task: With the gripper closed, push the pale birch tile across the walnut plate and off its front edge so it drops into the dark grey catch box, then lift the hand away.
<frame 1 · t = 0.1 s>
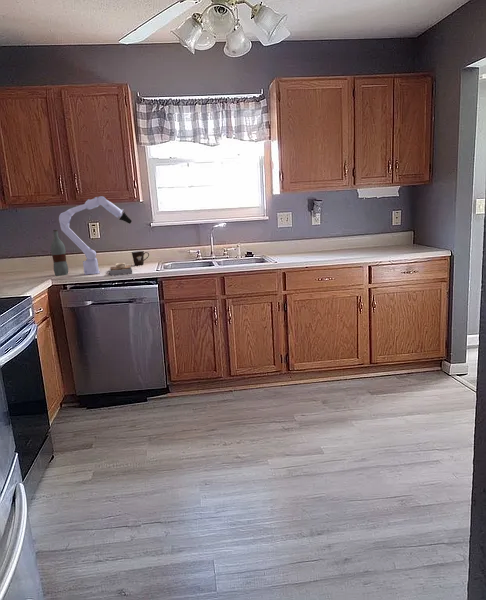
hand: (130, 222, 309), 32 cm above the counter, tool tilted 50°, fingers open, 7 cm apart
catch box: (121, 273, 303), on the counter
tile: (120, 267, 313), point 2 cm above the counter, touching plate
plate: (121, 270, 315), on the counter
bottle: (61, 274, 312), on the counter
coffee mug: (141, 265, 338), on the counter
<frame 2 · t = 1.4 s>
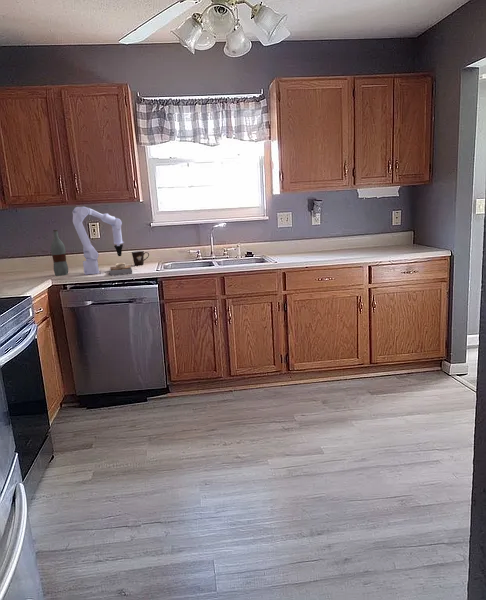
hand: (119, 255, 321), 9 cm above the counter, tool pointing down, fingers open, 6 cm apart
nothing on the counter moved.
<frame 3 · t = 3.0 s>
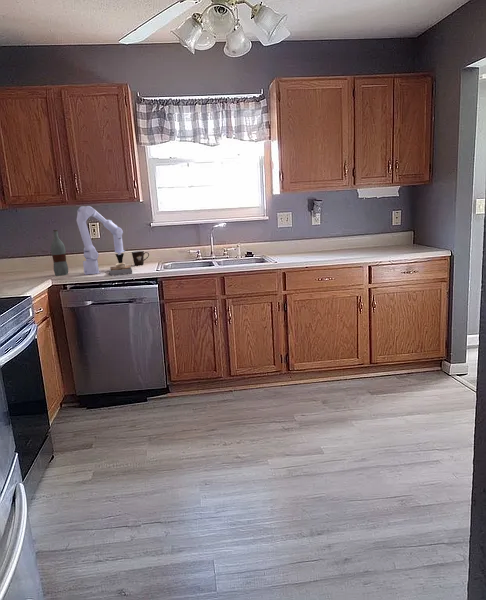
hand: (120, 264, 322), 3 cm above the counter, tool pointing down, fingers closed
nothing on the counter moved.
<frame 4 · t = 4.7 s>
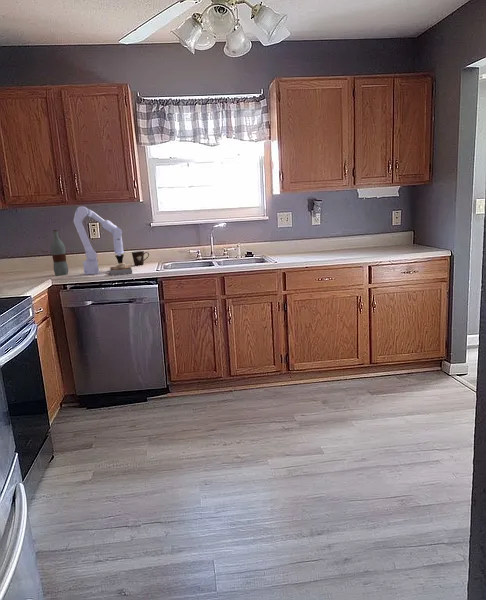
hand: (120, 265, 316), 3 cm above the counter, tool pointing down, fingers closed
nothing on the counter moved.
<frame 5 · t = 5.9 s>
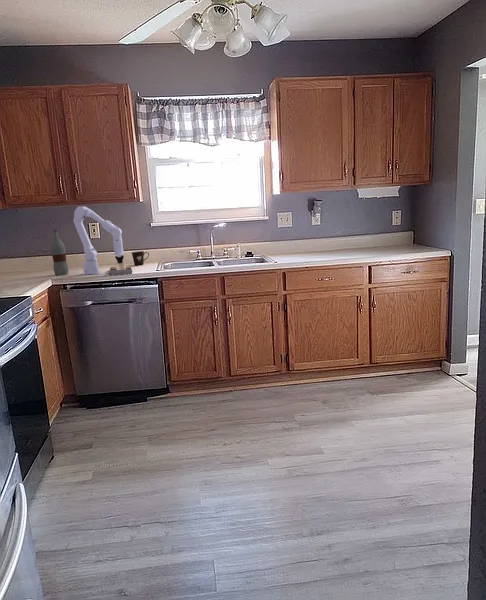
hand: (120, 266, 310), 3 cm above the counter, tool pointing down, fingers closed
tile: (121, 269, 307), point 2 cm above the counter, tilted 40°, touching gripper
everything else where it was.
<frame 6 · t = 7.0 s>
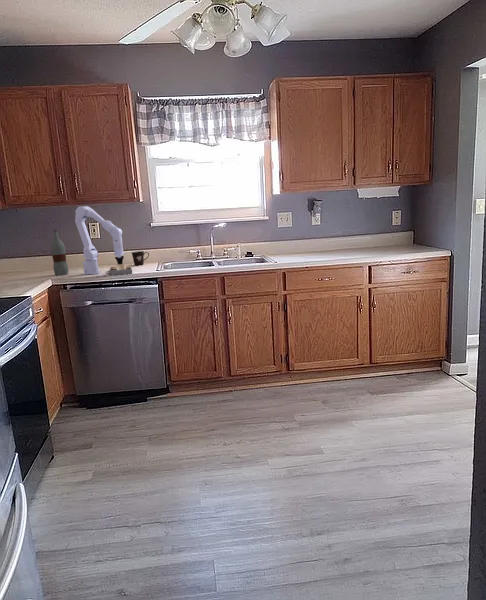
hand: (120, 267, 306), 3 cm above the counter, tool pointing down, fingers closed
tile: (121, 270, 304), point 2 cm above the counter, tilted 36°, touching catch box, gripper
everything else where it was.
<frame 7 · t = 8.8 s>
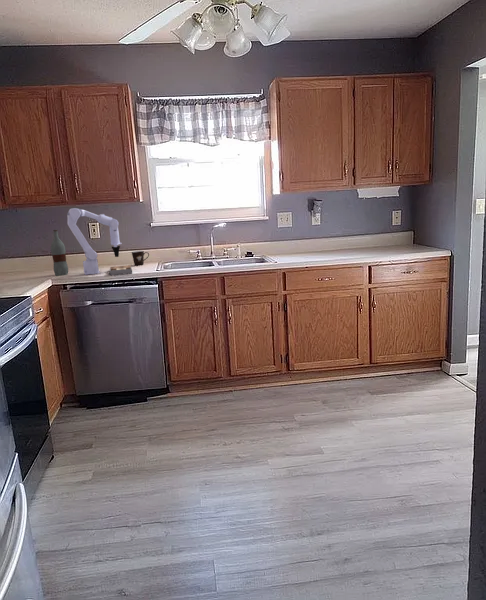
hand: (116, 256, 315), 9 cm above the counter, tool pointing down, fingers closed
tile: (121, 272, 305), resting on catch box
everything else where it was.
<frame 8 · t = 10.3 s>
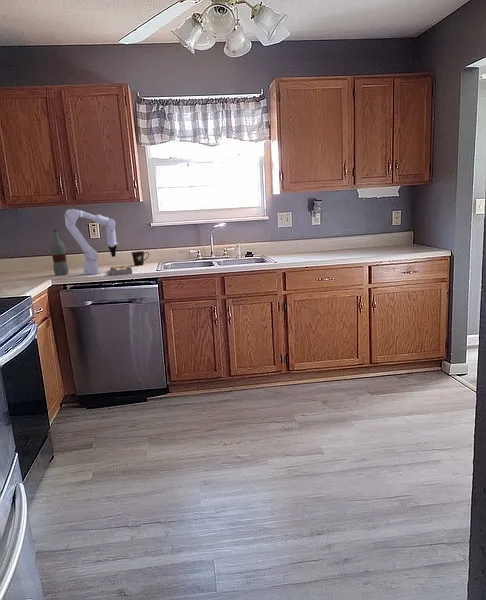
hand: (113, 256, 316), 9 cm above the counter, tool pointing down, fingers closed
nothing on the counter moved.
at the end: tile inside the target area (1.2 cm from its centre), resting on catch box; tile moved 9.9 cm from its start; the gripper is holding nothing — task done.
